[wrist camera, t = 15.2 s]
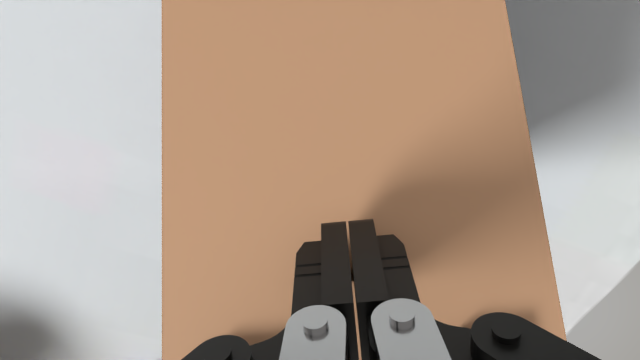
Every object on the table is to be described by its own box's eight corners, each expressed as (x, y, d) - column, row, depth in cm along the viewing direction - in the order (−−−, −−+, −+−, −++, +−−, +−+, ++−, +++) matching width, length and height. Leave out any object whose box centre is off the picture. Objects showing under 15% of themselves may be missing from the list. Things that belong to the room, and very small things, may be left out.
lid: (174, 4, 18) (157, -23, 16) (485, -29, 17) (498, -61, 16) (177, 408, 15) (156, 423, 13) (557, 383, 14) (582, 395, 13)
